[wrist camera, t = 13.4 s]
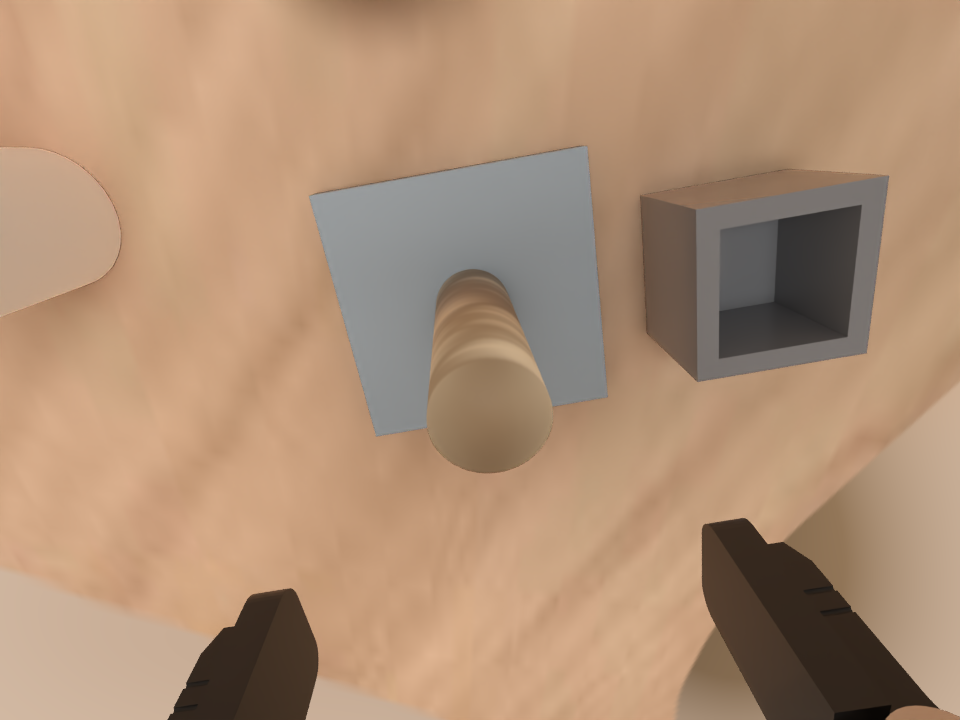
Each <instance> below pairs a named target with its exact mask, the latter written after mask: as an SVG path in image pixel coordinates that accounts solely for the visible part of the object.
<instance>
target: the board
mask: <svg viewBox="0 0 960 720" xmlns="http://www.w3.org/2000/svg"><path fill="white" fill-rule="evenodd" d="M309 198H310V202H311V205H312V209H313V212H314V216H315V219H316V223H317V227H318V230H319V234H320V237H321V241H322V244H323V248H324V252H325V255H326V259H327V262H328V266H329V269H330V273H331V276H332V280H333V284H334V287H335V291H336V294H337V298H338V301H339V305H340V309H341V312H342V316H343V319H344V323H345V326H346V330H347V334H348V337H349V341H350V344H351V348H352V351H353V355H354V358H355V362H356V366H357V369H358V373H359V376H360V380H361V383H362V387H363V391H364V394H365V398H366V401H367V405H368V408H369V412H370V416H371V419H372V423H373V426H374V430H375V433H376V436H382V435H388V434H394V433H400V432H406V431H412V430H418V429H423V428H427V419H426V415H427V404H428V392H429V380H430V369H431V357H432V345H433V334H434V322H435V310H436V300H437V295H438V292H439V290H440V288H441V286H442V285H443V284H444V282H445V281H446V280H447V279H448V278H449V277H451V276H452V275H454V274H456V273H457V272H460V271H463V270H468V269H478V270H483V271H486V272H489V273H491V274H492V275H494V276H495V277H497V278H498V279H499V280H500V281H501V282H502V284H503V285H504V287H505V288H506V290H507V293H508V295H509V298H510V300H511V303H512V305H513V308H514V310H515V313H516V315H517V317H518V320H519V322H520V325H521V327H522V330H523V332H524V335H525V337H526V340H527V342H528V344H529V347H530V349H531V352H532V354H533V357H534V359H535V362H536V364H537V366H538V369H539V371H540V374H541V376H542V379H543V381H544V384H545V386H546V389H547V391H548V393H549V396H550V399H551V402H552V407H553V406H559V405H565V404H571V403H577V402H582V401H588V400H594V399H600V398H606V397H608V394H607V382H606V370H605V357H604V345H603V333H602V321H601V308H600V296H599V284H598V272H597V259H596V247H595V235H594V223H593V210H592V198H591V186H590V174H589V161H588V149H587V146H577V147H572V148H566V149H560V150H555V151H549V152H544V153H538V154H533V155H527V156H522V157H516V158H510V159H505V160H499V161H494V162H488V163H483V164H477V165H472V166H466V167H460V168H455V169H449V170H444V171H438V172H433V173H427V174H422V175H416V176H411V177H405V178H399V179H394V180H388V181H383V182H377V183H372V184H366V185H361V186H355V187H349V188H344V189H338V190H333V191H327V192H322V193H316V194H313V195H310V196H309Z"/></svg>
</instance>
